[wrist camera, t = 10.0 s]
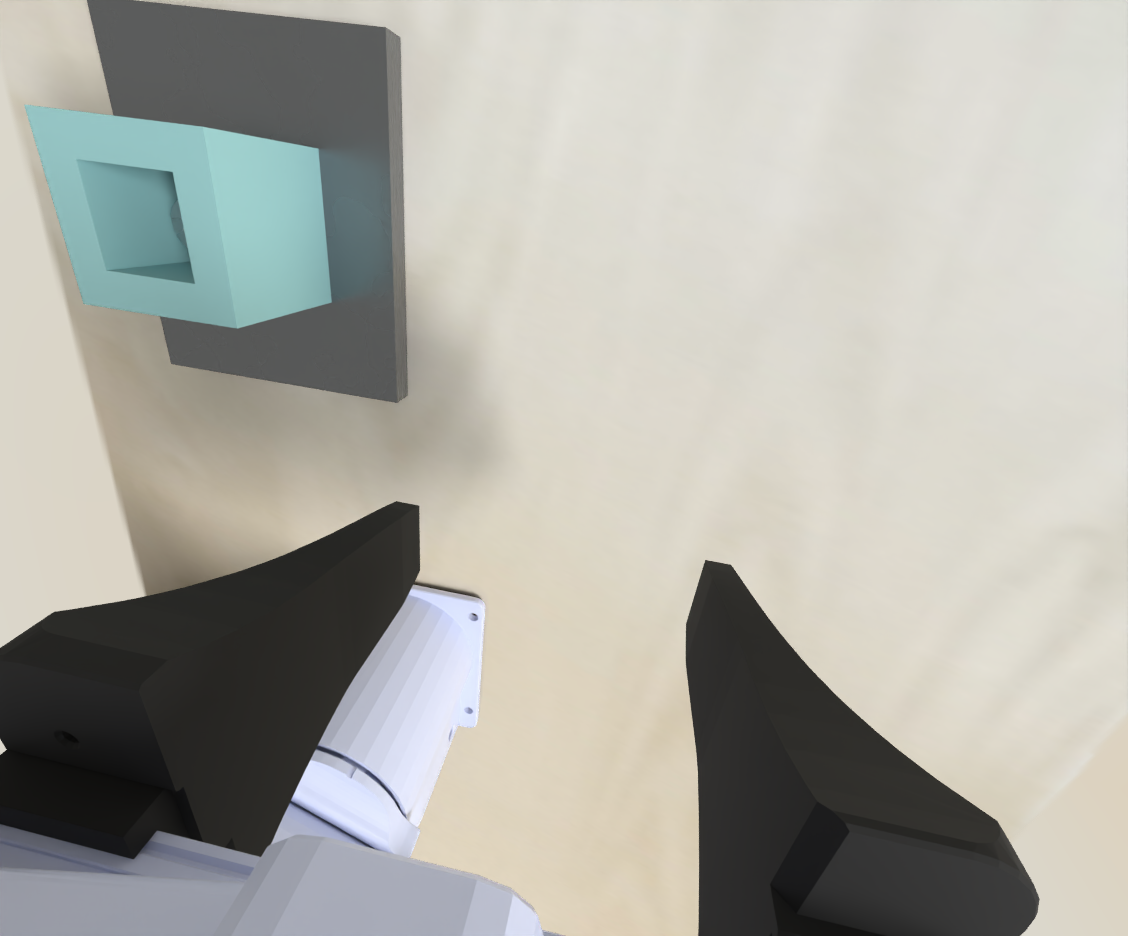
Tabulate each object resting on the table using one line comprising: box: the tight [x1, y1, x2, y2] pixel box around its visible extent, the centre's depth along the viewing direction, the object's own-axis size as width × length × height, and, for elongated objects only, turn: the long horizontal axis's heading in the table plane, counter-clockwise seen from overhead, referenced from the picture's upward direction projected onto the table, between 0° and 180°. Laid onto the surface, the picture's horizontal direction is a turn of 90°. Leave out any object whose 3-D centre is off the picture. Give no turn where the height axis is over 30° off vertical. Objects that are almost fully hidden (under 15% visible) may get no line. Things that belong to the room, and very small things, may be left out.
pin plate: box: [87, 0, 408, 403], centre depth 18 cm, size 12×10×4 cm
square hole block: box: [25, 105, 332, 329], centre depth 17 cm, size 5×5×5 cm
